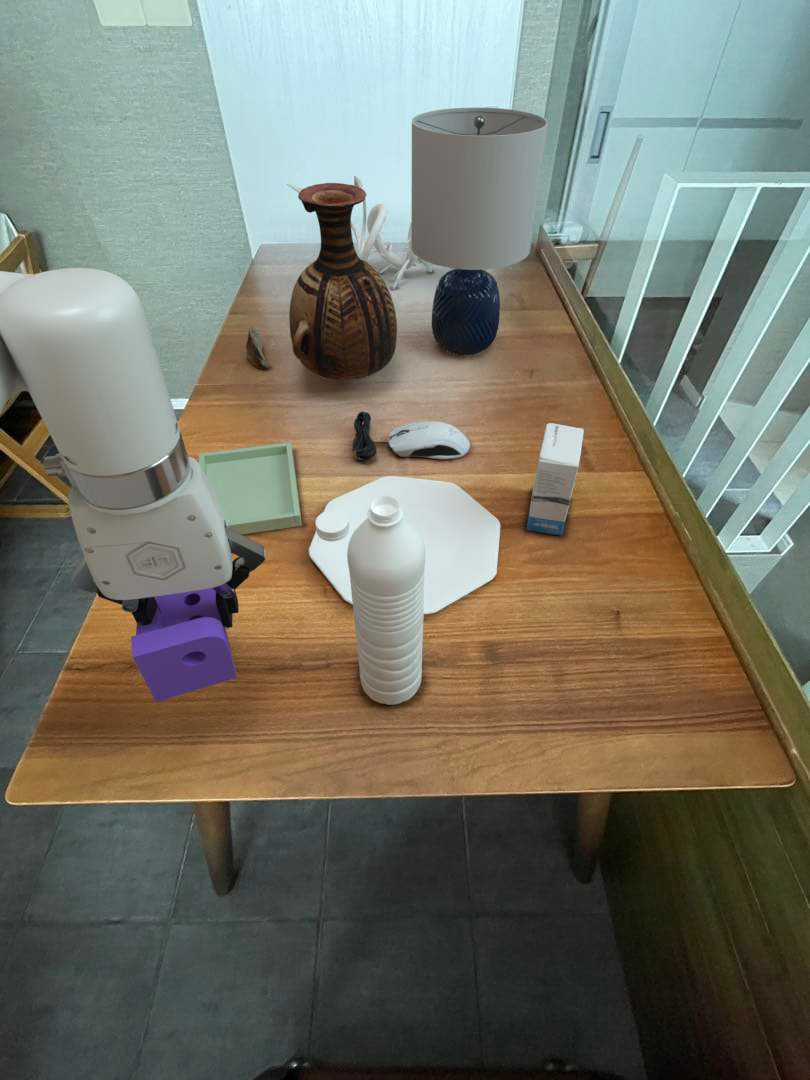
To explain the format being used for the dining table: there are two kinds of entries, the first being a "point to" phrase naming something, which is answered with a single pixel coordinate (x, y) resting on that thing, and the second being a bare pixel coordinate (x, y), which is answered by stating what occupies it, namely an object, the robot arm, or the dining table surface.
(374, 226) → the white dragon statue
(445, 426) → the computer mouse
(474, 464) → the dining table surface
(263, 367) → the oyster shell
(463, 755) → the dining table surface
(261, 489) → the shallow tray
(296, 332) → the vase
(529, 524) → the ink box
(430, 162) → the lamp
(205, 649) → the bracket
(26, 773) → the dining table surface
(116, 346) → the robot arm
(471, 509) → the plate
